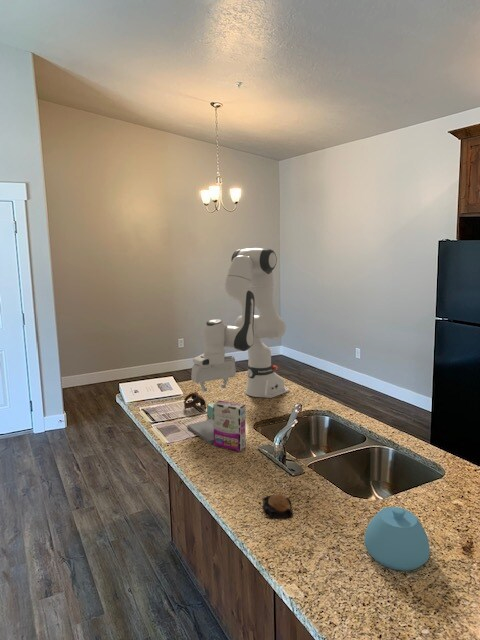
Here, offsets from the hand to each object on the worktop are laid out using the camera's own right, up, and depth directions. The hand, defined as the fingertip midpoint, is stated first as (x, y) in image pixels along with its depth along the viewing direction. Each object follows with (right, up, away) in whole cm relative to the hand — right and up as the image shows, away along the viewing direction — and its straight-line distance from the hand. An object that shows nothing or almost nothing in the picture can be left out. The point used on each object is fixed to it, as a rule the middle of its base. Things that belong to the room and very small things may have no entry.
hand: (214, 389), depth 198 cm
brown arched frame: (-9, -10, +12) cm, 18 cm away
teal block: (0, -12, +3) cm, 12 cm away
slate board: (+1, -15, -14) cm, 20 cm away
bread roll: (+22, -24, -66) cm, 74 cm away
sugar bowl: (+49, -27, -85) cm, 102 cm away
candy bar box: (+7, -17, -27) cm, 33 cm away
